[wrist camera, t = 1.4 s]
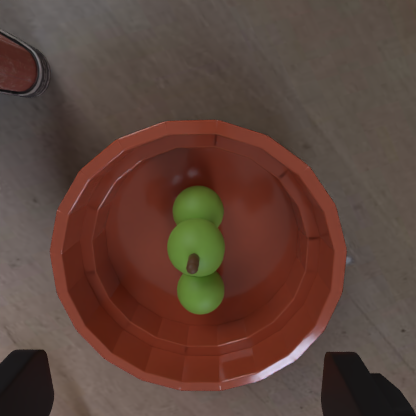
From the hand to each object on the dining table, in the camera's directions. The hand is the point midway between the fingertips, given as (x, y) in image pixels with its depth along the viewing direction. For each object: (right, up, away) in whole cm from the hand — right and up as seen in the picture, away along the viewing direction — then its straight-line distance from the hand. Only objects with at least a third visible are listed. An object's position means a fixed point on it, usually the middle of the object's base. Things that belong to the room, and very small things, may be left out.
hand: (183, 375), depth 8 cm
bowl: (0, +3, +10) cm, 11 cm away
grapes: (0, +3, +10) cm, 10 cm away
